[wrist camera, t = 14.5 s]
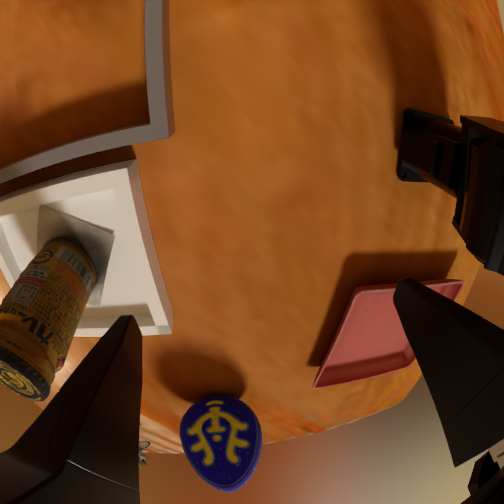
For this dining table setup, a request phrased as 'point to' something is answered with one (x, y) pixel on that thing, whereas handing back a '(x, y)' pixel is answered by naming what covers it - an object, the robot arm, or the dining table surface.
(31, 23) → the dining table surface
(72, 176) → the tray
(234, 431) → the ornament
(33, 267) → the condiment
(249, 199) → the dining table surface
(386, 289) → the plant saucer
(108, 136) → the gray square frame
